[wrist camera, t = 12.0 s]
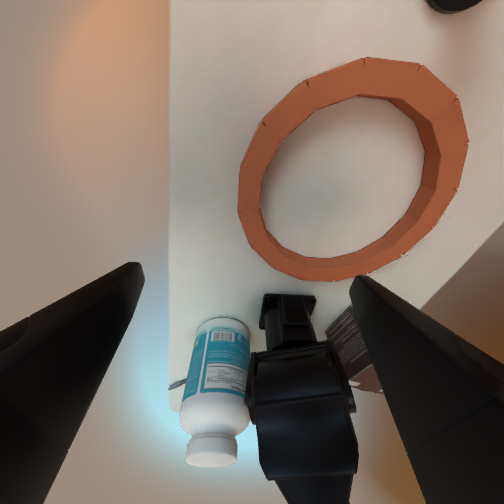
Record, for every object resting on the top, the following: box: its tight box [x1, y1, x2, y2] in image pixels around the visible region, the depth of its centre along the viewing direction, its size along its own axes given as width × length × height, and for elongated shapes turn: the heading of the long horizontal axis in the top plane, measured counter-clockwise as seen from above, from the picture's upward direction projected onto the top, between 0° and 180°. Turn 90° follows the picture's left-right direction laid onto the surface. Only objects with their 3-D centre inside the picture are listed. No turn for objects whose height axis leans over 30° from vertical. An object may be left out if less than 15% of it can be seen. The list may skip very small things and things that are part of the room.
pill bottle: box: [179, 318, 250, 468], centre depth 25 cm, size 8×7×14 cm
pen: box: [168, 379, 187, 390], centre depth 37 cm, size 1×1×14 cm
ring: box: [238, 57, 469, 282], centre depth 19 cm, size 18×18×2 cm
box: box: [326, 307, 384, 394], centre depth 27 cm, size 6×6×7 cm
